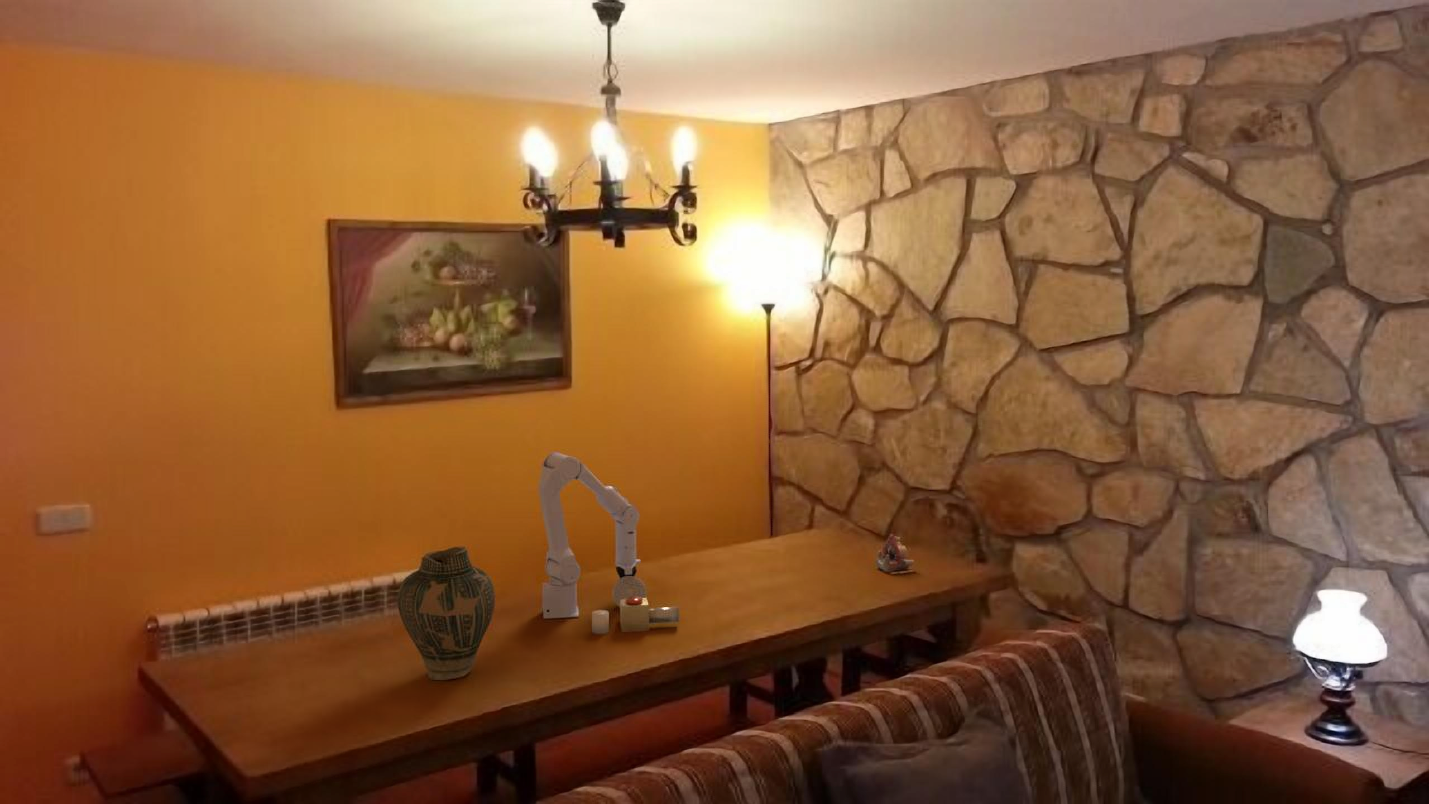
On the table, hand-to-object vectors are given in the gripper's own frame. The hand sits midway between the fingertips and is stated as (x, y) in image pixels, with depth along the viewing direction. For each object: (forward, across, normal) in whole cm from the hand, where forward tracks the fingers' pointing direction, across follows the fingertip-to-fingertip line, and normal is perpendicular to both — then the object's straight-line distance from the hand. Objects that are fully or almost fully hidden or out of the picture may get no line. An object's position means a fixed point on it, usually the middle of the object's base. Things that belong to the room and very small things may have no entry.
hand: (626, 592), depth 324 cm
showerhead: (+2, -2, 0) cm, 3 cm away
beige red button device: (+2, -21, -4) cm, 22 cm away
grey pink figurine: (+3, +18, -84) cm, 86 cm away
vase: (+3, -48, +46) cm, 67 cm away
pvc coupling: (+2, -25, +9) cm, 26 cm away
